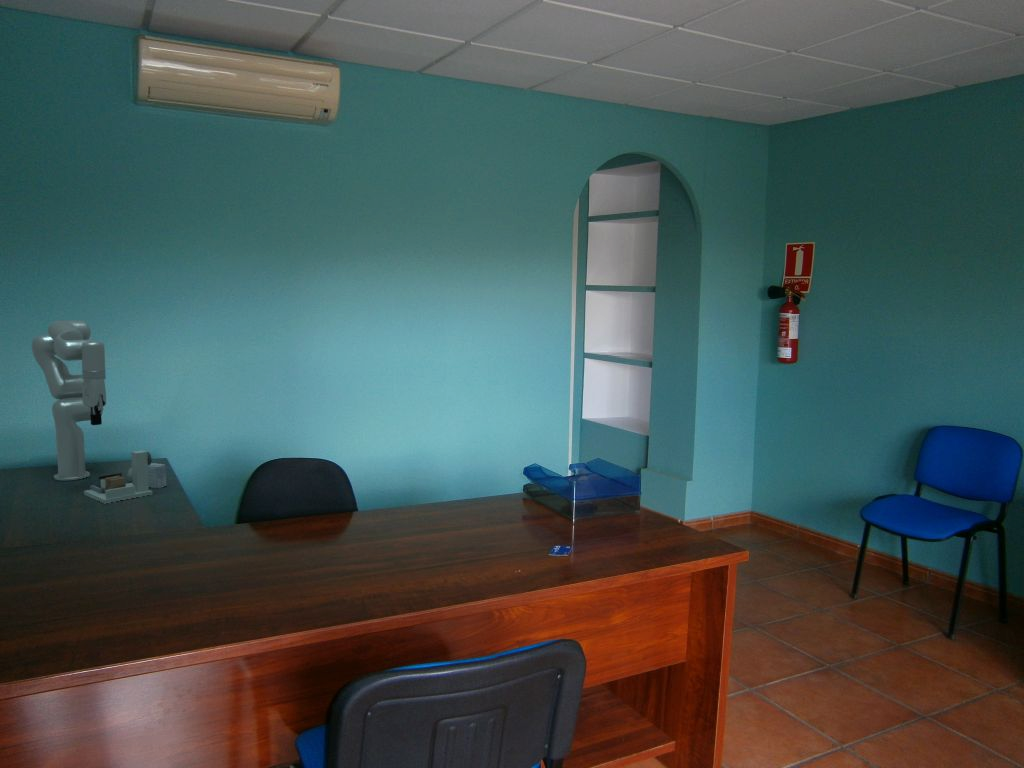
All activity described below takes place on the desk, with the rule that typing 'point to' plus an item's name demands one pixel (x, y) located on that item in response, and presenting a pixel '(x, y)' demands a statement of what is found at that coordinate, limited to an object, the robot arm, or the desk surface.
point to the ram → (107, 477)
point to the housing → (115, 482)
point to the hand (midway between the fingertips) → (96, 424)
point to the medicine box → (156, 475)
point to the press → (132, 489)
